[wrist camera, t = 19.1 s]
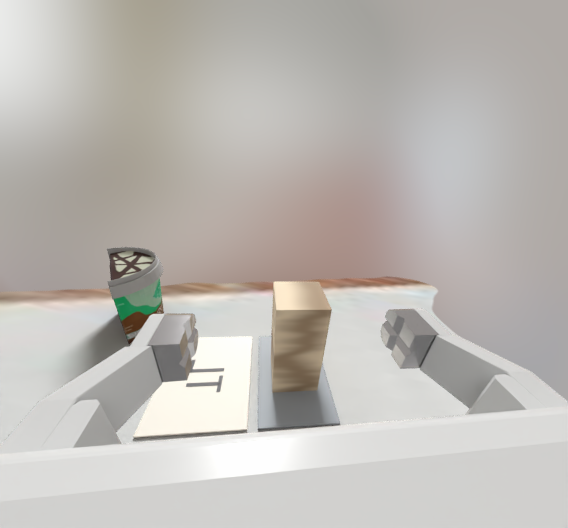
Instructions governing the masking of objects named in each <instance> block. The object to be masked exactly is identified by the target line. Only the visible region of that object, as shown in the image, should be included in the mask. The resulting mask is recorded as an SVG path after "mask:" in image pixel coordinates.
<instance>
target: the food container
mask: <svg viewBox="0 0 568 528" xmlns="http://www.w3.org/2000/svg"><path fill="white" fill-rule="evenodd" d="M107 251H108V254H109V258H110V272H111V281H108V285H109V289H110V292H111V295H112V299H114V302H115V305H116V308H117V311H118V314H119V317H120V320H121V323H122V325H123V328H124V331H125V334H126V337H127V340H128V343H129V344H130V343H132V342H133V340H134V339H135V337H136V336H137V334H138V333H139V331H140V330H141V328H142V327H143V325H144V324H145V322H146V321H147V319H148V318H149V316H150V315H152V314H164V312H163V303H162V295H161V287H160V279H159V277H160V276H161V275H162V273H163V266H162V264H161V262H160V260H159V258H158V257H157V256H156V255H155V253H153V252H152V251H150V250H147V249H143V248H134V247H121V248H110V249H107Z"/></svg>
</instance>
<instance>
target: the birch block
mask: <svg viewBox="0 0 568 528" xmlns="http://www.w3.org/2000/svg"><path fill="white" fill-rule="evenodd" d="M331 310H332V309H331V307H330V305H329V303H328V301H327V298H326V296H325V294H324V292H323V290H322V288H321V286H320V283H319V282H274V285H273V311H272V337H271V373H272V393H274V392H294V391H315V390H317V389H318V384H319V378H320V372H321V367H322V361H323V355H324V350H325V344H326V339H327V333H328V327H329V322H330V316H331Z"/></svg>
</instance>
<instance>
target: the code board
mask: <svg viewBox="0 0 568 528" xmlns="http://www.w3.org/2000/svg"><path fill="white" fill-rule="evenodd" d="M271 337H272V336H259V386H258V429H272V428H287V427H302V426H317V425H331V424H340V421H339V417H338V414H337V411H336V407H335V404H334V400H333V397H332V394H331V390H330V387H329V384H328V380H327V377H326V373H325V370H324V367H323V363H322V367H321V372H320V378H319V384H318V389H317V390H315V391H294V392H274V393H272V373H271ZM251 351H252V336H248V337H206V338H198V345H197V350H196V354H195V355H194V356H193V357H192V358H191V360H192V367H191V370H190V373H189V376H188V379H187V380H185V381H173V382H162V385H161V386H160V387H159V388H158V389H157V390H156V391H155V392H154V393H153V395H152V397H151V400H150V402H149V404H148V406H147V408H146V410H145V412H144V415H143V417H142V419H141V421H140V423H139V425H138V427H137V430H136V432H135V434H134V436H133V437H134V438H138V437H153V436H168V435H183V434H198V433H213V432H227V431H242V430H247V423H248V405H249V387H250V369H251Z"/></svg>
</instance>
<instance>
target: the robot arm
mask: <svg viewBox="0 0 568 528" xmlns="http://www.w3.org/2000/svg"><path fill="white" fill-rule="evenodd" d="M385 318H386V320H387V321H386V322H385V323H384V324H383V325H382V328H381V338H382V341H383V343H384V344H385V346H386V347H387V348H389V349H390V350H392V354H391V355H392V357H393V358H394V360H395V361H396V363H397V364H398V366H399V367H400V369H407V368H420V370H421V371H423V372H424V373H425V374H426V375H428V376H429V377H430V378H432V379H433V380H434V381H435V382H437V383H438V384H439V385H440V386H442V387H443V388H444V389H445V390H447V391H448V392H449V393H451V394H452V395H453V396H454V397H456V398H457V399H458V400H459V401H461V402H462V403H463V404H465V405H466V406H467V407H468V408H470V409H469V410H468V412H467V413H466V414H465V415H456V416H445V417H433V418H421V419H409V420H397V421H386V422H374V423H362V424H350V425H338V426H326V427H314V428H302V429H290V430H278V431H266V432H255V433H243V434H231V435H219V436H207V437H195V438H183V439H172V440H160V441H148V442H136V443H124V444H121V442H120V440H119V438H118V436H117V434H116V432H117V431H118V430H119V429H120V428H121V427H122V426H123V424H124V423H125V422H126V421H127V420H128V419H129V418H130V417H131V416H132V415H133V414H134V413H135V412H136V411H137V410H138V409H139V408H140V407H141V406H142V405H143V404H144V403H145V401H146V400H147V399H148V398H149V397H150V396H151V395H152V394H153V393H154V392H155V391H156V390H157V389H158V388H159V387H160V386H161V385H162V382H173V381H185V380H187V379H188V376H189V373H190V370H191V367H192V360H191V358H192V357H193V356H194V355H195V354H196V350H197V345H198V331H197V329H195V328H194V326H195V323H196V319H195V315H194V314H152V315H150V316H149V318H148V319H147V321H146V322H145V324H144V325H143V327H142V328H141V330H140V331H139V333H138V334H137V336H136V337H135V339H134V340H133V342H132V344H131V345H130V347H124V348H122V349H121V350H119V351H117V352H116V353H114V354H113V355H111V356H110V357H108V358H106V359H105V360H103V361H102V362H100V363H99V364H97V365H95V366H94V367H92V368H91V369H89V370H87V371H86V372H84V373H83V374H81V375H80V376H78V377H76V378H75V379H73V380H72V381H70V382H69V383H67V384H65V385H64V386H62V387H61V388H59V389H57V390H56V391H54V392H53V393H51V394H50V395H48V396H46V397H45V398H43V399H42V400H40V401H39V402H38V403H37V404H36V405H35V406H34V407H33V408H32V410H31V411H30V412H29V413H28V414H27V415H26V416H25V417H24V419H23V420H22V421H21V422H20V423H19V424H18V425H17V427H16V428H15V429H14V430H13V431H12V432H11V433H10V435H9V436H8V437H7V438H6V439H5V440H4V441H3V443H2V444H1V445H0V528H568V401H567V400H565V399H564V398H563V397H562V396H560V395H559V394H558V393H557V392H555V391H554V390H553V389H552V388H550V387H549V386H548V385H547V384H546V383H544V382H543V381H542V380H541V379H540V378H538V377H537V376H536V375H535V374H533V373H532V372H531V371H529V370H527V369H524V368H522V367H520V366H518V365H516V364H514V363H512V362H510V361H508V360H506V359H504V358H502V357H500V356H498V355H496V354H494V353H491V352H490V351H488V350H486V349H484V348H482V347H480V346H478V345H476V344H473V343H471V342H469V341H467V340H465V339H463V338H461V337H459V336H457V335H452V334H451V333H450V332H449V331H448V330H447V329H446V328H444V327H443V326H442V325H441V324H440V323H439V322H438V321H437V320H436V319H435V318H434V317H433V316H432V315H431V314H430V313H429V312H428V311H427V310H425V309H423V308H417V309H394V310H388V311H387V313H386V316H385Z"/></svg>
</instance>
